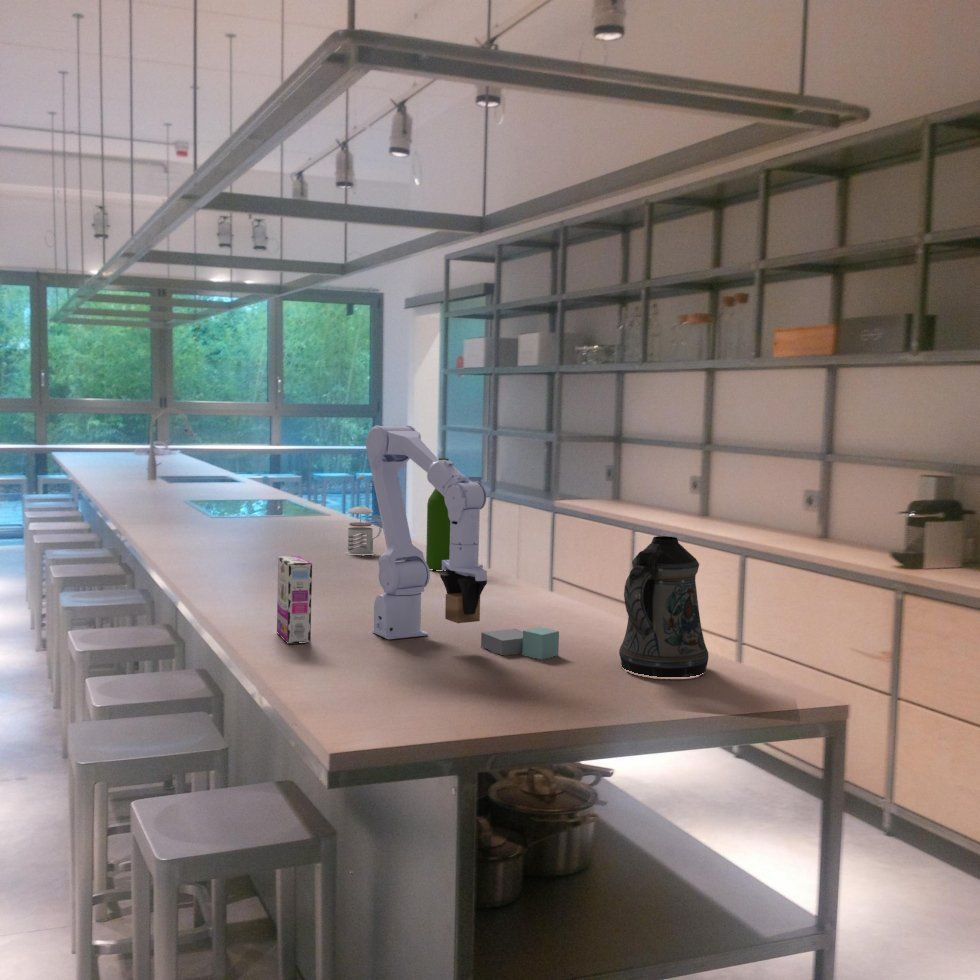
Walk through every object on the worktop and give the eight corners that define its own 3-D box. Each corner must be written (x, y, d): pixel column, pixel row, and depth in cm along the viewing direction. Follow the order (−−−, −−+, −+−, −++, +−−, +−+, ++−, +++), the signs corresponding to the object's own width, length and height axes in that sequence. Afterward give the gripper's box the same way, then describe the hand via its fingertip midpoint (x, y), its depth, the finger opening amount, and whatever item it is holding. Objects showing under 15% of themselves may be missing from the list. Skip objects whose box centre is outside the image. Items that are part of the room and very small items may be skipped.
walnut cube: (457, 623, 202) (458, 597, 202) (445, 618, 206) (445, 593, 206) (479, 621, 205) (480, 596, 204) (467, 616, 209) (467, 592, 209)
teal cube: (541, 660, 200) (542, 634, 200) (522, 655, 204) (523, 630, 203) (558, 656, 204) (559, 631, 203) (539, 651, 207) (539, 627, 207)
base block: (501, 655, 203) (502, 640, 202) (481, 646, 209) (481, 632, 209) (536, 651, 207) (536, 636, 207) (514, 643, 214) (514, 628, 213)
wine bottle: (462, 570, 304) (464, 459, 302) (436, 572, 299) (438, 459, 297) (446, 565, 312) (448, 457, 309) (420, 568, 307) (422, 457, 304)
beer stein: (708, 662, 201) (714, 534, 199) (706, 688, 183) (712, 547, 180) (623, 655, 205) (627, 530, 203) (612, 680, 186) (617, 542, 184)
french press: (349, 551, 337) (350, 474, 335) (384, 552, 336) (385, 475, 333) (340, 555, 327) (341, 476, 325) (376, 557, 326) (378, 477, 324)
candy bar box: (312, 643, 209) (313, 562, 208) (287, 645, 207) (288, 563, 206) (299, 631, 219) (300, 554, 218) (276, 633, 217) (276, 555, 216)
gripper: (501, 547, 200) (498, 616, 201) (463, 537, 212) (462, 603, 214) (469, 549, 196) (467, 619, 198) (433, 539, 209) (431, 605, 210)
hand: (462, 611), depth 205 cm, fingers closed on walnut cube, 5 cm apart
